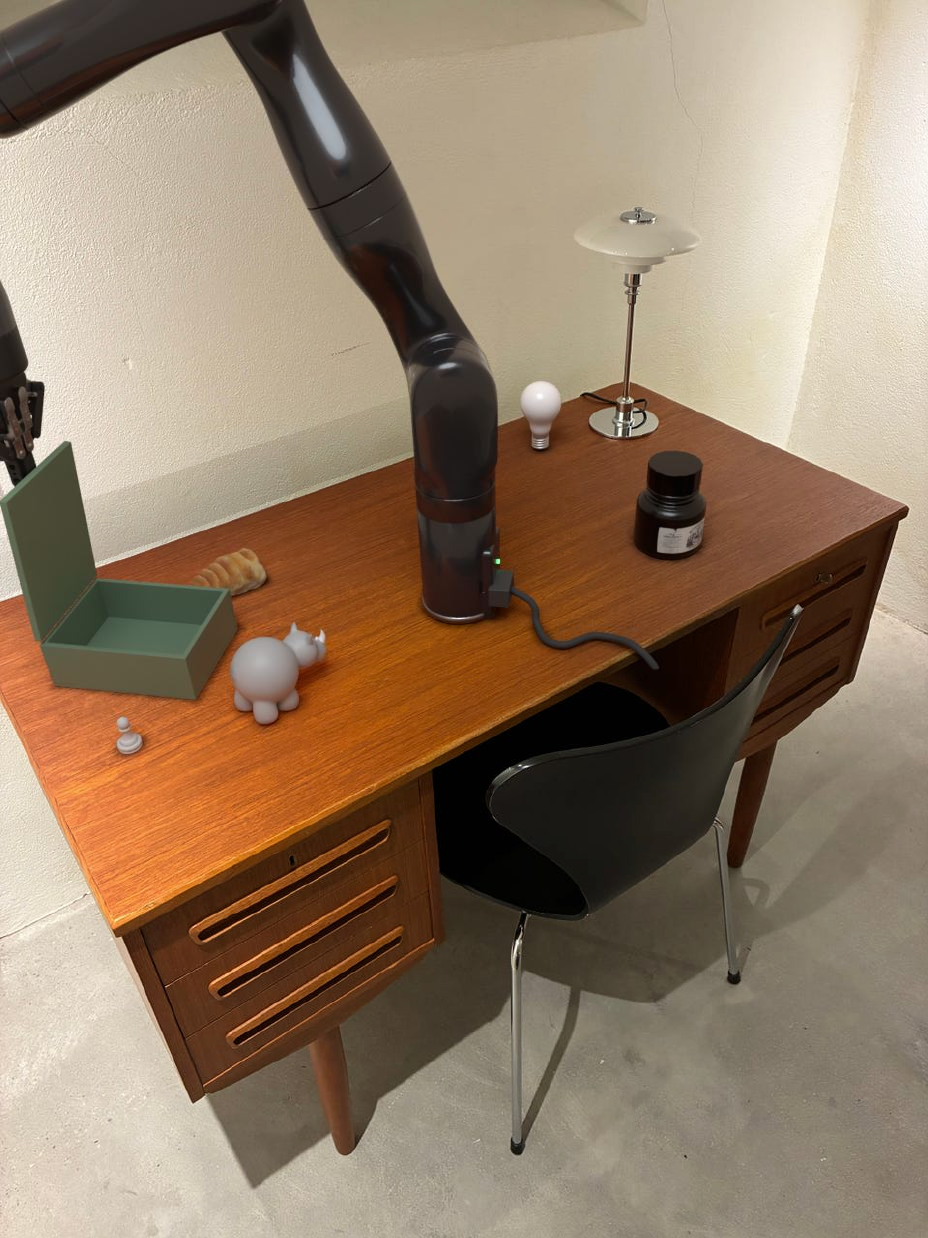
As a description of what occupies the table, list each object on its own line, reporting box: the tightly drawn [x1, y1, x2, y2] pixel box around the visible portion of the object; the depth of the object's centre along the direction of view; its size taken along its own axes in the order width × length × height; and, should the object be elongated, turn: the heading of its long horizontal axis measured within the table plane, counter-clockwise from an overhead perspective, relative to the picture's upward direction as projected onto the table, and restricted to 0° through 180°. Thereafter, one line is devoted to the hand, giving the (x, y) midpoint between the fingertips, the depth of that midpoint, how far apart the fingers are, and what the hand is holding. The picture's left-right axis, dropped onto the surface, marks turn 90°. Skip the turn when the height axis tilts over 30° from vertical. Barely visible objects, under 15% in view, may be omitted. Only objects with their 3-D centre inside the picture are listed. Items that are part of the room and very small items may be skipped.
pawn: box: [116, 716, 144, 755], centre depth 104 cm, size 3×3×4 cm
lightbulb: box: [519, 380, 563, 451], centre depth 152 cm, size 6×6×11 cm
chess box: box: [39, 577, 239, 701], centre depth 115 cm, size 17×13×6 cm
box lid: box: [0, 440, 98, 643], centre depth 109 cm, size 18×13×1 cm
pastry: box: [189, 547, 267, 597], centre depth 127 cm, size 9×7×4 cm
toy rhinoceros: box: [229, 622, 327, 725], centre depth 108 cm, size 7×12×8 cm, turn 135°
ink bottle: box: [633, 450, 707, 560], centre depth 129 cm, size 10×9×12 cm
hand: (28, 486), depth 105 cm, fingers closed
